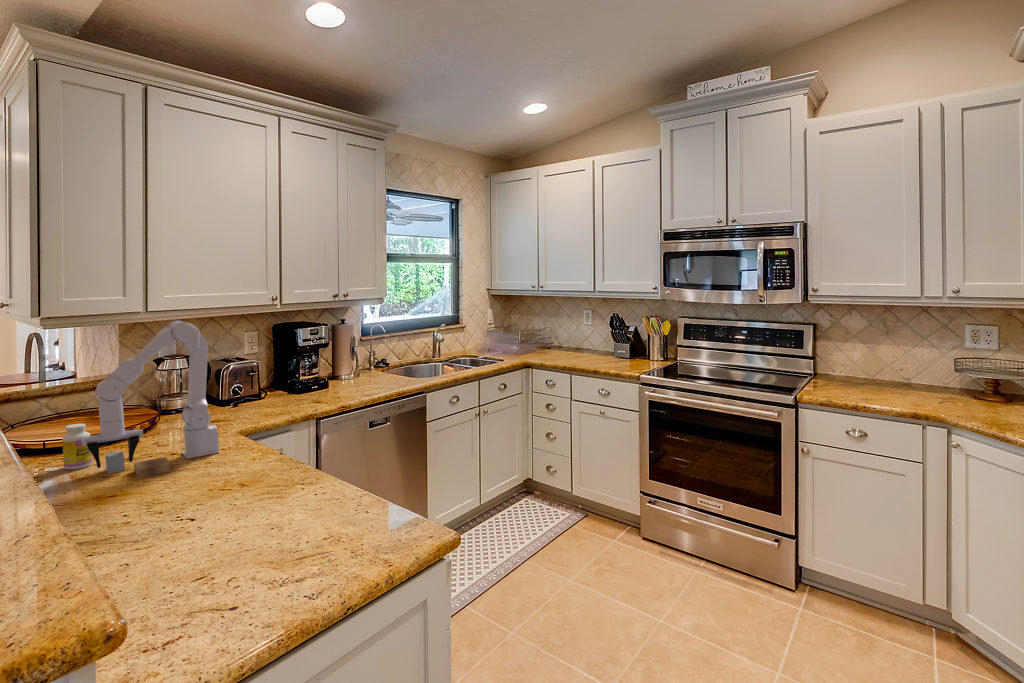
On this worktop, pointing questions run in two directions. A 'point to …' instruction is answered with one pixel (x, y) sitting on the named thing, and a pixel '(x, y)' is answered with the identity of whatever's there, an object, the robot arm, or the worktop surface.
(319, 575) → the worktop surface
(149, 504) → the worktop surface
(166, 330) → the robot arm
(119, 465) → the gray block
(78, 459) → the supplement bottle
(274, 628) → the worktop surface
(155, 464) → the walnut block
